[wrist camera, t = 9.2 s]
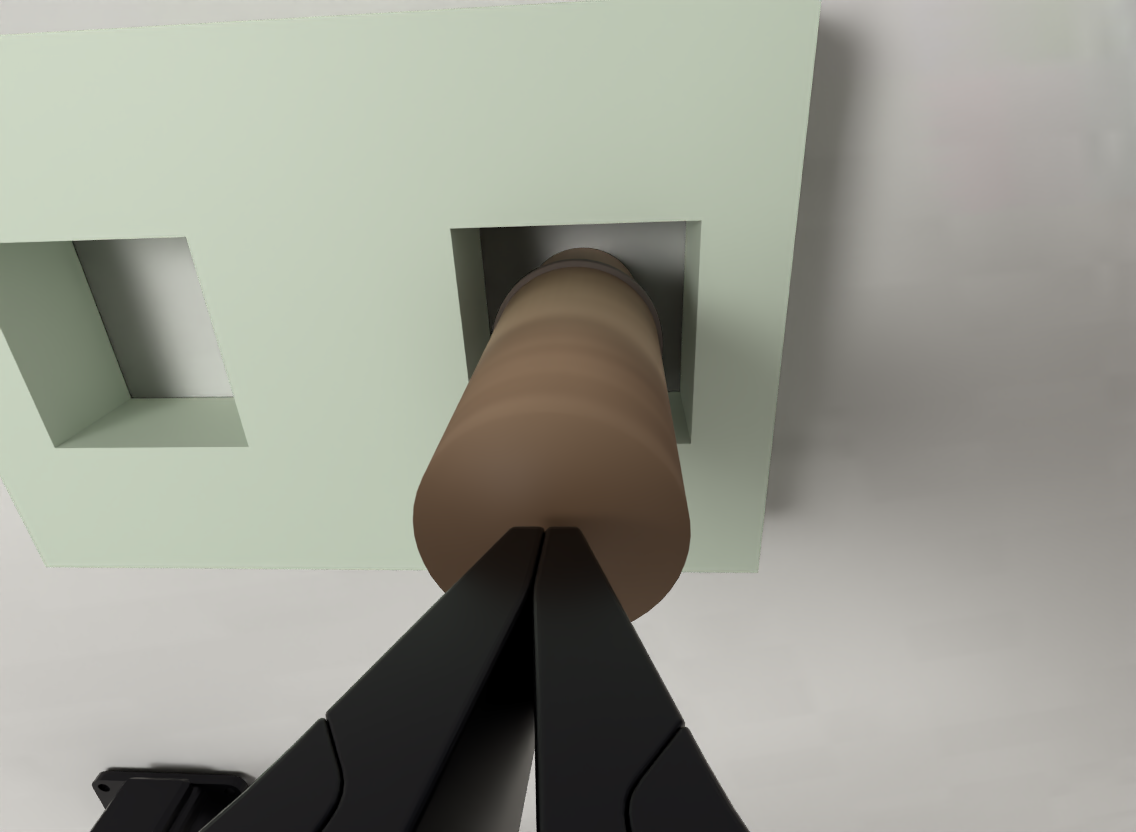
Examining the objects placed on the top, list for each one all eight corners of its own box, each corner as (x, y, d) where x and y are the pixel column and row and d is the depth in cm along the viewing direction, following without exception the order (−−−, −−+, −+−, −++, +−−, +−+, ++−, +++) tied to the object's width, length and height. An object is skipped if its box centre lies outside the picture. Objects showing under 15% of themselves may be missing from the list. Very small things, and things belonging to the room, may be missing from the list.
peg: (653, 370, 18) (692, 646, 9) (517, 371, 18) (427, 641, 10) (656, 229, 16) (706, 402, 8) (505, 234, 17) (381, 405, 8)
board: (783, 6, 14) (822, -13, 11) (738, 507, 20) (757, 572, 17) (-76, 53, 16) (-218, 47, 13) (116, 507, 21) (45, 567, 19)
